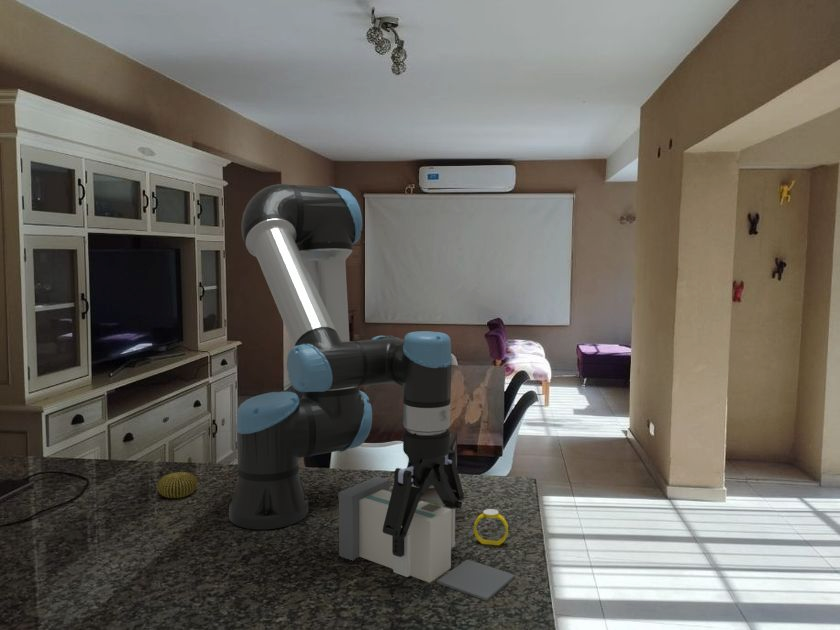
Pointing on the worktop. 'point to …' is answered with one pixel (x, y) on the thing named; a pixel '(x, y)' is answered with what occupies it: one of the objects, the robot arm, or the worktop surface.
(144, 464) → the worktop surface
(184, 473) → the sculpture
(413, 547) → the stub
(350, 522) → the pad
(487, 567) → the mat
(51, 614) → the worktop surface
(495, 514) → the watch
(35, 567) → the worktop surface
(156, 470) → the worktop surface
